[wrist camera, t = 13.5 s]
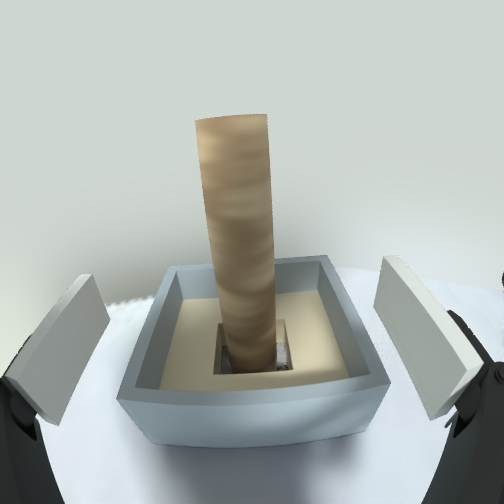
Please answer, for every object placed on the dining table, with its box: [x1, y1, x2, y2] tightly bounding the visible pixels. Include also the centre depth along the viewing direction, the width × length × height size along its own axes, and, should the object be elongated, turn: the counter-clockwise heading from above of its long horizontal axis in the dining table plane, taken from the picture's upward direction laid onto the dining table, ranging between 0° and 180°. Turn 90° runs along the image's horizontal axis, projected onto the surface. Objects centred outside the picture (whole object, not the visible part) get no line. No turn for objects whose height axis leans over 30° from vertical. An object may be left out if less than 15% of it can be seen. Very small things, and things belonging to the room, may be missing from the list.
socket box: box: [116, 255, 391, 448], centre depth 22 cm, size 16×16×6 cm
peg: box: [195, 114, 277, 374], centre depth 19 cm, size 4×4×20 cm
